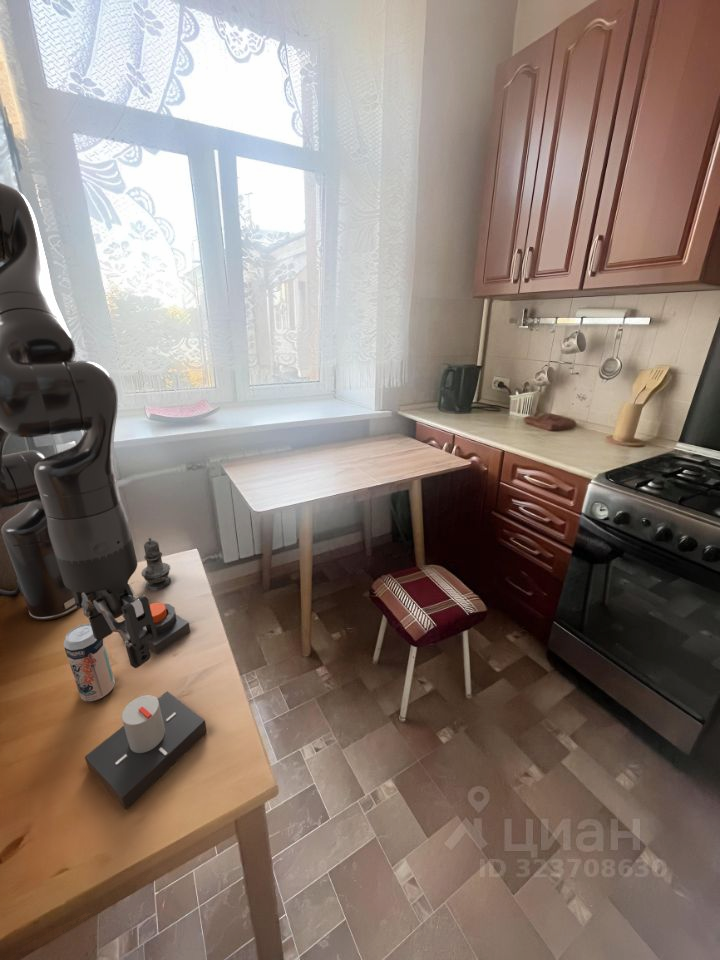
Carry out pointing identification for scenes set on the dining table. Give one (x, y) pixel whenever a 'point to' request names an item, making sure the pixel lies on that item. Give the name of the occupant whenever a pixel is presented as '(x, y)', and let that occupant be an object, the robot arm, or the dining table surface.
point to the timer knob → (143, 723)
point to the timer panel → (145, 753)
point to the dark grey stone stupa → (155, 567)
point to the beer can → (89, 663)
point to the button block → (168, 630)
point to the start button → (158, 612)
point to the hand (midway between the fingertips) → (122, 648)
